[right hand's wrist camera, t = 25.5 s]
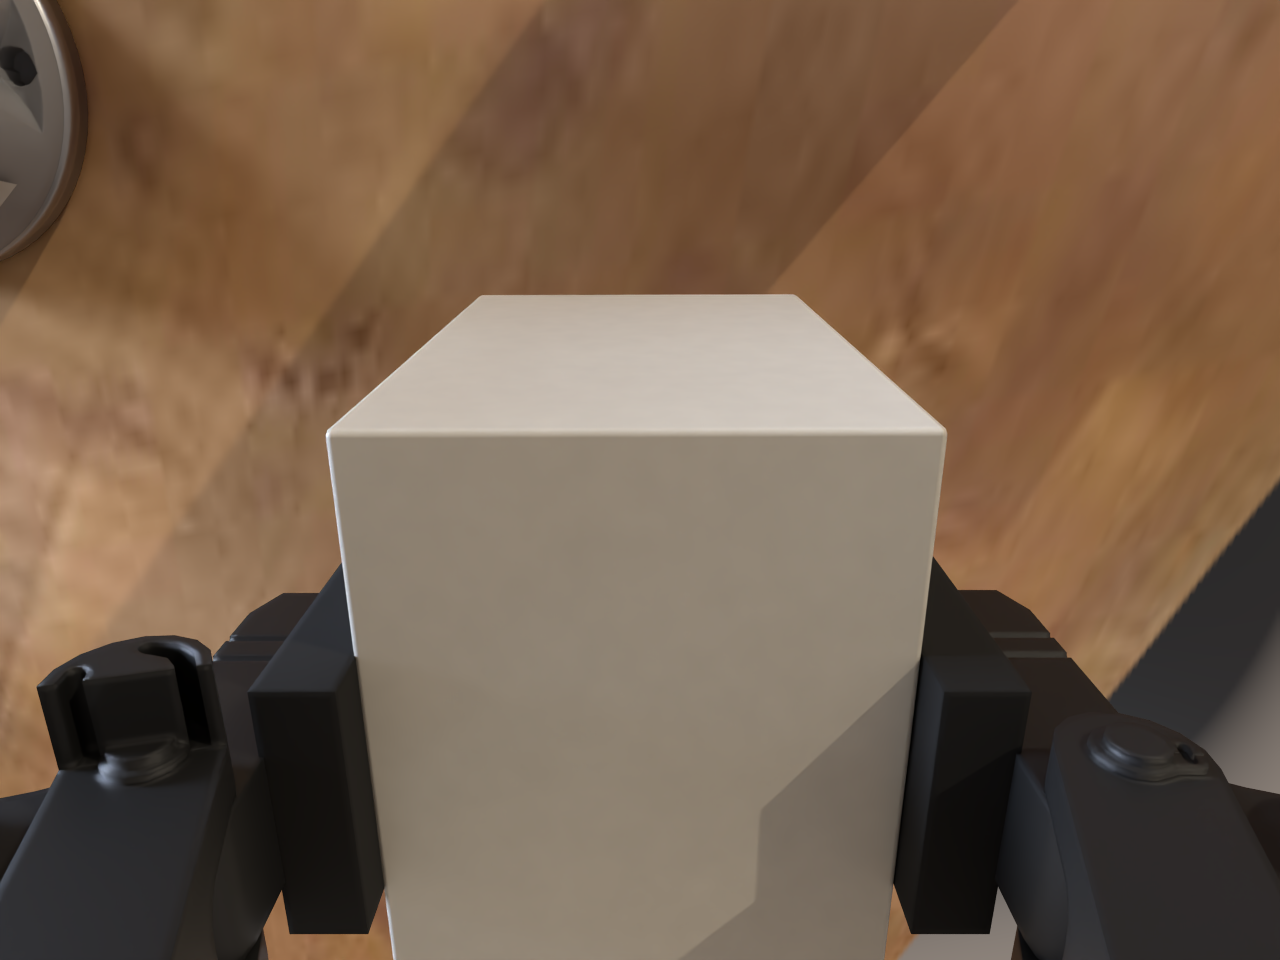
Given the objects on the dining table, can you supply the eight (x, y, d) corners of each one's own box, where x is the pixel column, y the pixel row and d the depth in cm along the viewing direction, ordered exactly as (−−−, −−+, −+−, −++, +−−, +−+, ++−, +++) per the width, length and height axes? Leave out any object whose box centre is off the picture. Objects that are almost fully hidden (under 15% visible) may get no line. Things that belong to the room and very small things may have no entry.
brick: (775, 674, 17) (874, 1054, 10) (503, 674, 17) (403, 1055, 10) (797, 293, 15) (951, 428, 7) (478, 294, 15) (321, 430, 7)
